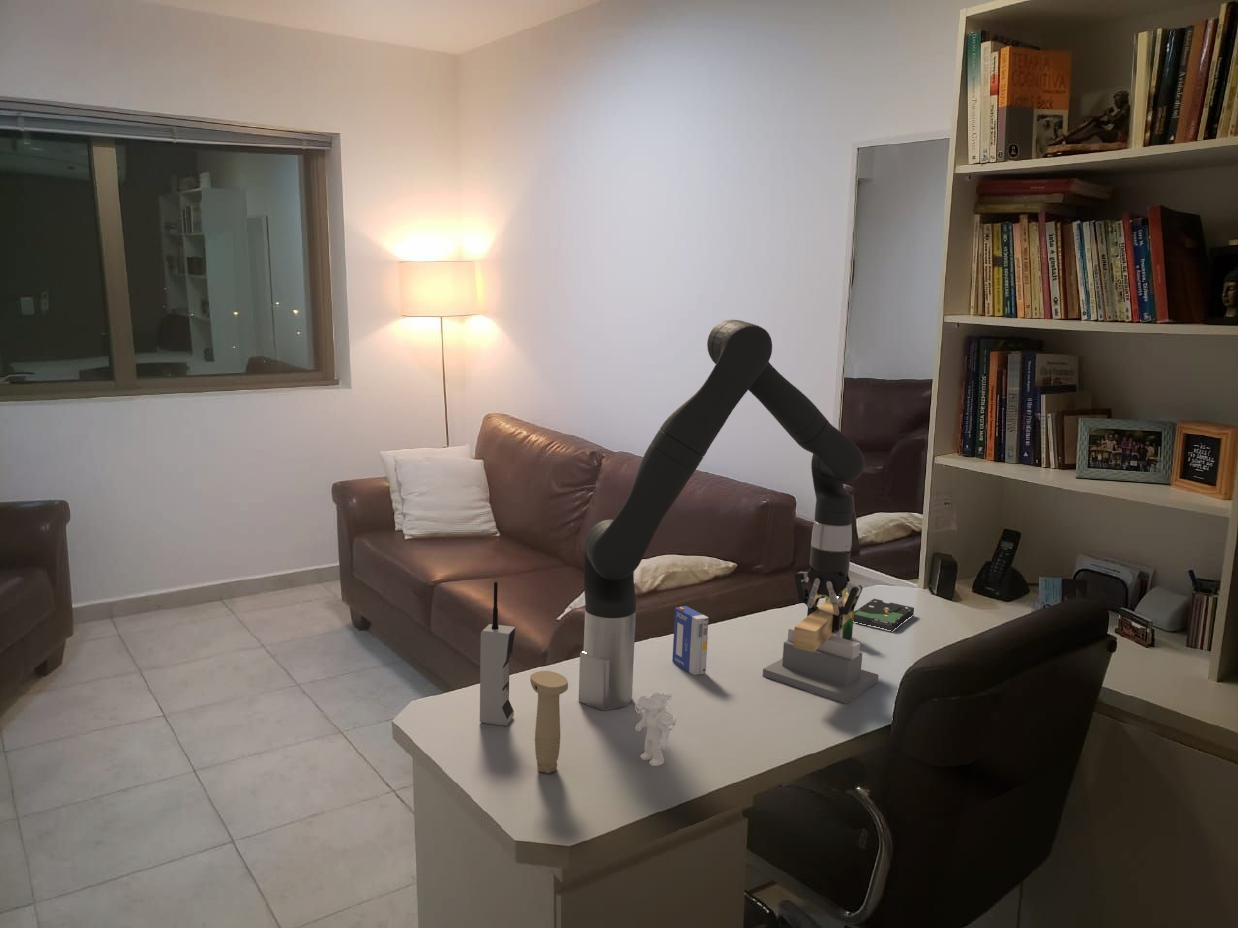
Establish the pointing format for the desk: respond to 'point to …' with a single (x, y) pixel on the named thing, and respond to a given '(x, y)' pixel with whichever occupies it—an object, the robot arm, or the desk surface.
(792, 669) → the balance stand
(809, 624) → the oak bar
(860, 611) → the disk drive
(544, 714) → the handle
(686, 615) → the walkman
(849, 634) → the crayon box
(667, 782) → the desk surface
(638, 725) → the white figurine
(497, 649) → the vintage mobile phone
